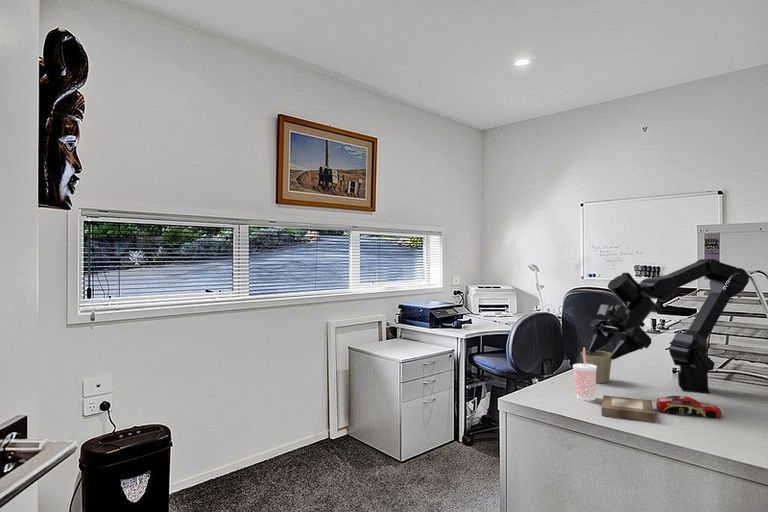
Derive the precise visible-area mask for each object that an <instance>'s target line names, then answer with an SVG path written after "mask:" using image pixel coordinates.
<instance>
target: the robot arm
mask: <svg viewBox="0 0 768 512" xmlns="http://www.w3.org/2000/svg"><path fill="white" fill-rule="evenodd" d="M735 273H739V274H738V275H736V276H734V277H733V278H732V279H731V280H730V283H728V284H729V285H728V284H727V286H728V287H726V290H724V289H723V287H724V286H725V285H726V284H725V283H726V281H727V280H728V278H729V277H730V276H731V275H733V274H735ZM703 277H705V278H706V279H708V280H709V282H708V283H709V289H710V291H709V293H708V295H707V297H706V299H705V300H704V302H703V303H702V305H701V307H700V308H699V310H698V312H697V314H696V316H694V317H695V318H694V319H693V321H692V322H691V324H690V326H689V328H688V329H687V330H686V331H685V332H684V333H681V332H676V333H675V334H674V336H673V339H672V340H671V341H670V342H669V345H670V346H669V348H668V351H669V356H671V358H672V361H673V364H674V365H675V366H679V370H678V371H677V380H678V381H677V382H678V383H677V385H678V387H679V388H680V389H681V391H686V392H687V391H688V392H697V393H706V394H707V393H710V389H709V376H708V375H709V374H708V373H709V372H710V371H713V370H714V367H715V364H716V363H715V361H713V360H712V359H711V358H710V357H709V356H708V354H707V352H708V351H709V349H708V346H709V345H708V341H707V339H708V338H709V336H710V334H711V332H712V331H713V330H714V327H715V326H716V324H717V322H718V320H719V319H720V318H721V316H722V314H723V311H725V308H726V307H727V305H728V303H729V301H730V300H731V299H733V297H735V296H737V295H739V294H740V293H742V291H743V290H744V289H745V288H746V287H747V285H748V284H749V282H750V281H749V280H750V277H749V274H748V272H747V271H746V270H745V269H743V268H741V267H736V266H733V265H730V264H727V263H724V262H721V261H719V260H717V259H714V258H701V259H699V260H697V261H696V262H693V263H691V264H689V265H686V266H684V267H682V268H680V269H677V270H675V271H673V272H670V273H667V274H665V275H661V276H660V275H659V276H653V277H649V278H645V279H643V280H641V281H640V283H639V282H637V281H636V280H635V279H634V278H633V276H632V274H631V273H629V272H622V274H620V275H618V276H616V277H614V278H613V279H611V280H610V281H609V282H608V285H607V289H609V290H610V291H611V293H612V294H614V295H615V297H616V298H618V299H619V301H620V302H622V303H623V304H624V303H627V304H626V306H624V305H622V304H616V305H615V306H614V305H610V304H604V303H603V304H600V306H599V308H598V311H597V313H596V315H597V316H599V317H602V318H605V319H606V320H607V321H606V320H602V319H593V320H592V321H591V322H590V323H589V326H590V329H591V330H592V332H593V336H592V340H591V343H590V346H589V349H588V351H589V352H590V353H593V352H595V351H599V350H600V349H601V348H602V347H604V346H605V345H607V344H608V343H610V342H611V340H612V339H614V337H615V336H620V341H619V342H618V343H617V345H616V347H614V349H613V351H612V352H611V353H612V354H611V356H610V358H611V359H612V361H613V360H616V359H619V358H620V357H623V356H626V355H628V354H630V353H633V352H636V351H639V350H643V349H648V348H649V347H650V346H651V344H652V337H650V336H649V334H647V332H646V331H645V330H644V329H643V327H644V326H646V323H645V322H644V321H645V320H646V319H647V318H648V316H649V315H650V314H651V313H657V314H660V313H661V308H660V303H658V302H654V301H653V300H661V301H663V300H666V299H667V300H668V298H670V297H671V296H673V295H674V294H676V293H677V290H678V289H679V288H681V287H683V286H685V285H687V284H690V283H692V282H694V281H697V280H698V279H701V278H703ZM723 290H724V292H723ZM610 325H611V326H610Z"/></svg>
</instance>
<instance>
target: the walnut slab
mask: <svg viewBox="0 0 768 512" xmlns="http://www.w3.org/2000/svg"><path fill="white" fill-rule="evenodd" d="M654 411H655V410H654V406H653V401H652V399H645V398H644V399H643V398H642V399H641V398H635V397H633V398H632V397H623V396H622V397H621V396H611V395H603V396H602V402H601V416H602V417H610V418H618V419H625V420H626V419H627V420H634V421H643V422H651V423H655V412H654Z"/></svg>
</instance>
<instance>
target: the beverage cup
mask: <svg viewBox="0 0 768 512" xmlns="http://www.w3.org/2000/svg"><path fill="white" fill-rule="evenodd" d="M585 351H586V347H585V346H584V347H582V352H583V356H582V359H583V358H584V359H583V363H580V362H579V363H574V364H572V368H573V373H574V382H575V383H574V384H575V391H576V399H577V400H579V399H581V400H580V401H583V400H586V401H585V402H593V400H594V401H595V400H596V384H597V383H596V370H597V366H596V365H592V364H586V362H585ZM591 400H592V401H591Z"/></svg>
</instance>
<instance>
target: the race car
mask: <svg viewBox="0 0 768 512" xmlns="http://www.w3.org/2000/svg"><path fill="white" fill-rule="evenodd" d="M655 404H656V405H655V408H656V409H657V410H658V411H660V412H662V413H666V414H667V413H668V414H669V415H675V416H676V415H682V416H683V415H684V416H694V417H703V418H705V417H706V418H707V419H716V418H719V417H721V416H722V411H721V409H720V407H719V406H717V405H714V404H712V403H708V402H703V401H698V399H697V400H696V399H695V398H692V397H689V396H685V395H667V396H663V397H658V398H657V402H656V403H655Z"/></svg>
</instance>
